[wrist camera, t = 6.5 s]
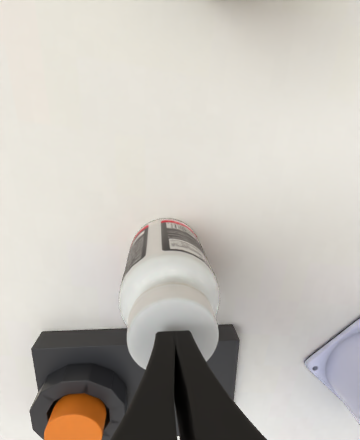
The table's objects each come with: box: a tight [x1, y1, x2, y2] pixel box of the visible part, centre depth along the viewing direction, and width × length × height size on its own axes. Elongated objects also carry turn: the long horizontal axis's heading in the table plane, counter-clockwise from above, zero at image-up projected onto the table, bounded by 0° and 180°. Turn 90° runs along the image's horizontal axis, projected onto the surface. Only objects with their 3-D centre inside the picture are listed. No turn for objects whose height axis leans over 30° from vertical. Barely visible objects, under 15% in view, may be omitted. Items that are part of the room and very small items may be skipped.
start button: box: [44, 393, 107, 440], centre depth 19 cm, size 4×4×2 cm
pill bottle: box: [119, 219, 220, 370], centre depth 16 cm, size 5×5×10 cm
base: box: [30, 325, 239, 440], centre depth 22 cm, size 16×10×4 cm, turn 89°
